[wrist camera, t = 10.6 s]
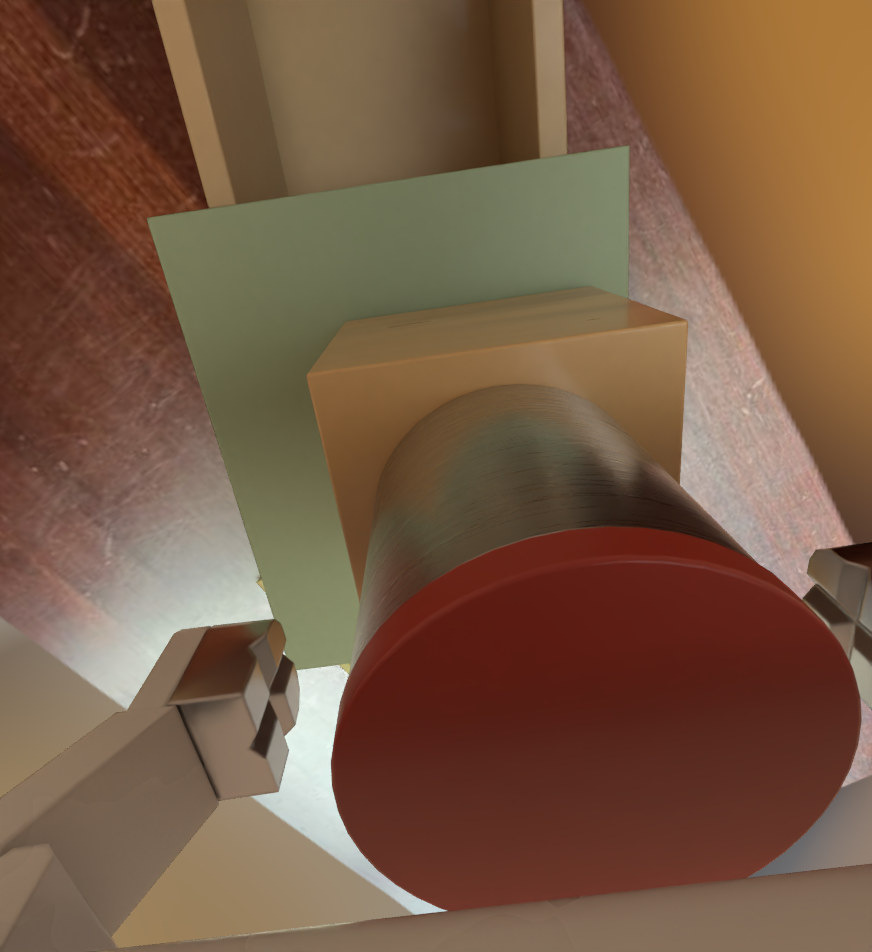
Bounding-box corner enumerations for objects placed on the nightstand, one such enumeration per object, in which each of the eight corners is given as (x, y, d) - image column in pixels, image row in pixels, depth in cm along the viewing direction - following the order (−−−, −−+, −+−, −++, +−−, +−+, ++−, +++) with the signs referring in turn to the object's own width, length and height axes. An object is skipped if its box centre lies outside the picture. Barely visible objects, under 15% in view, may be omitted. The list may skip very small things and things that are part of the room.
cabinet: (254, 219, 24) (145, 217, 14) (544, 176, 24) (630, 144, 14) (330, 529, 31) (290, 671, 21) (559, 499, 30) (626, 629, 21)
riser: (343, 321, 16) (304, 373, 10) (593, 285, 15) (690, 319, 10) (386, 535, 19) (373, 665, 13) (597, 507, 18) (673, 628, 13)
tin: (321, 452, 11) (223, 687, 5) (603, 330, 10) (826, 460, 5) (438, 658, 13) (455, 973, 8) (677, 572, 12) (887, 854, 7)
